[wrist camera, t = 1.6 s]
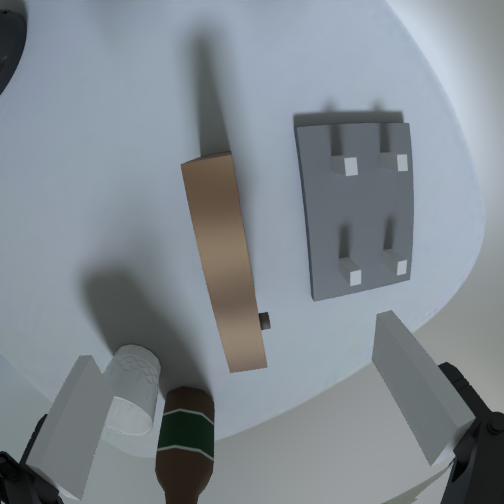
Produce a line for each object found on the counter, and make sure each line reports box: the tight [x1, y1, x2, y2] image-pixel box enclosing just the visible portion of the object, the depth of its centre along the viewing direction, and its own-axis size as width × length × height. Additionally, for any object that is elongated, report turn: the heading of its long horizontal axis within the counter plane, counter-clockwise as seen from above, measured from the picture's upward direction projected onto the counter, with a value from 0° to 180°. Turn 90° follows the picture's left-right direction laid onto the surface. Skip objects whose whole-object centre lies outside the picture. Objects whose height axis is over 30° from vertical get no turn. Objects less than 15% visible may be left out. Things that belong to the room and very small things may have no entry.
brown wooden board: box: [181, 151, 271, 373], centre depth 24 cm, size 16×4×12 cm, turn 9°
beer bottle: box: [155, 387, 215, 504], centre depth 28 cm, size 8×8×24 cm
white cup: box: [103, 344, 161, 435], centre depth 31 cm, size 8×8×10 cm
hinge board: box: [294, 123, 414, 302], centre depth 28 cm, size 19×13×5 cm
